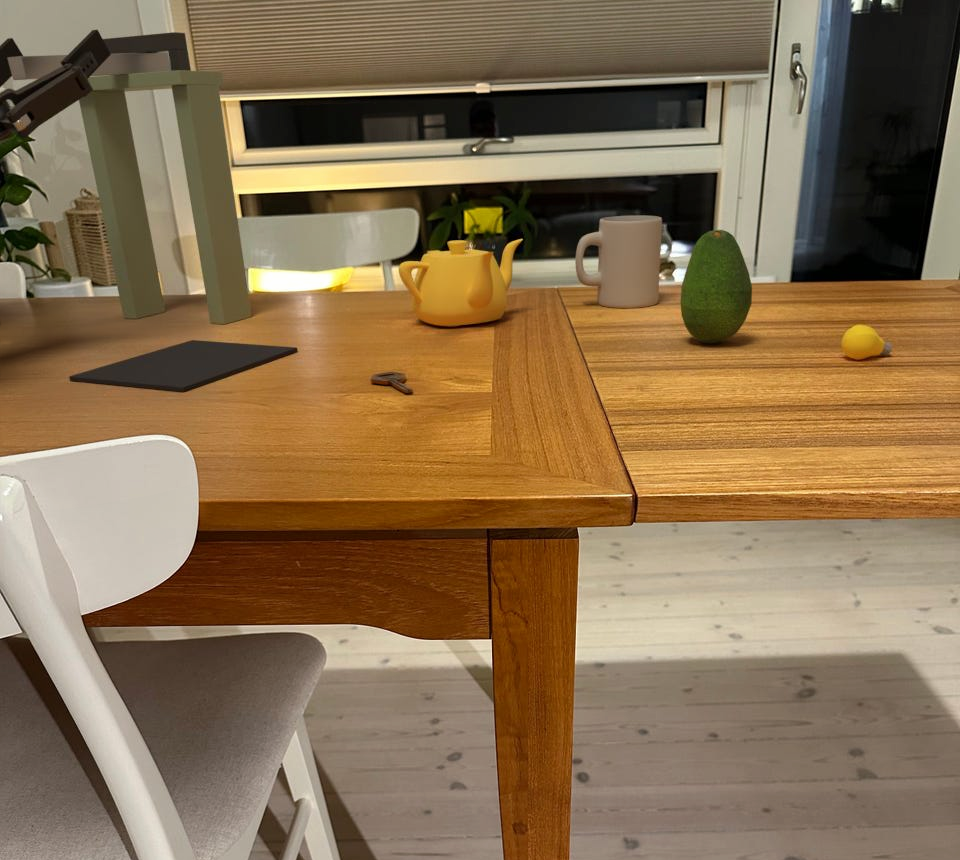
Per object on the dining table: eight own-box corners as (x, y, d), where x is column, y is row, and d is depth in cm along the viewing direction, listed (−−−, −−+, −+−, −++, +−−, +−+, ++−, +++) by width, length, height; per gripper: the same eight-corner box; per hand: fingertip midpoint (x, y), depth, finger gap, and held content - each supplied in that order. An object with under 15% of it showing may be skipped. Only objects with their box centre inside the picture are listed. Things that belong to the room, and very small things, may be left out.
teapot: (494, 332, 119) (492, 247, 115) (395, 329, 123) (389, 246, 119) (524, 312, 131) (523, 234, 126) (432, 310, 135) (428, 234, 130)
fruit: (662, 342, 111) (668, 230, 105) (712, 333, 114) (721, 224, 108) (711, 353, 105) (721, 235, 99) (762, 343, 108) (774, 228, 102)
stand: (118, 319, 137) (60, 39, 121) (157, 309, 144) (106, 42, 127) (220, 325, 130) (172, 28, 114) (256, 315, 136) (216, 32, 120)
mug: (644, 296, 139) (648, 214, 134) (668, 305, 132) (672, 219, 126) (565, 302, 137) (566, 219, 131) (585, 312, 129) (587, 224, 124)
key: (393, 395, 93) (393, 391, 92) (365, 379, 99) (365, 375, 99) (429, 390, 94) (429, 385, 94) (399, 374, 100) (398, 370, 100)
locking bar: (12, 80, 108) (6, 57, 107) (159, 72, 126) (155, 53, 125) (26, 79, 107) (20, 56, 106) (172, 71, 125) (168, 52, 124)
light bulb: (831, 358, 100) (837, 323, 100) (875, 368, 102) (881, 335, 102) (855, 354, 97) (861, 318, 97) (899, 365, 99) (905, 330, 99)
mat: (69, 380, 104) (68, 376, 104) (193, 344, 120) (192, 339, 119) (183, 392, 98) (182, 387, 97) (297, 351, 113) (297, 347, 113)
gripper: (-103, 189, 109) (4, 84, 119) (53, 187, 99) (157, 73, 109) (-154, 125, 103) (-37, 20, 113) (7, 117, 93) (121, 2, 103)
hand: (58, 46), depth 111 cm, fingers open, 13 cm apart
